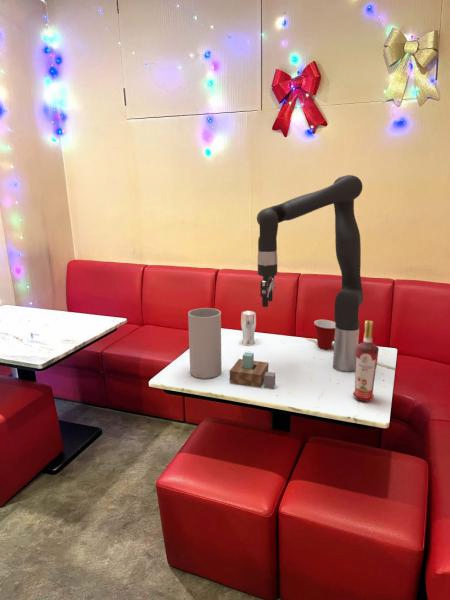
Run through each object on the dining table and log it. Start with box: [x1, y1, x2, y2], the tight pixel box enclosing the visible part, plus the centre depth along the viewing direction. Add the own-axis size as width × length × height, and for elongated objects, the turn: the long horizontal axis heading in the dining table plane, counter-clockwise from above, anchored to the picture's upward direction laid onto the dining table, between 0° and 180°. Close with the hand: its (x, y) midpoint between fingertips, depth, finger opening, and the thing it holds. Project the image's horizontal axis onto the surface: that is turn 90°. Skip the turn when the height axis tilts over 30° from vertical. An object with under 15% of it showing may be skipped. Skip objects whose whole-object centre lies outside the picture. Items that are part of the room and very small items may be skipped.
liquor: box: [352, 320, 380, 402], centre depth 145 cm, size 7×7×28 cm
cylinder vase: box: [187, 307, 222, 380], centre depth 167 cm, size 12×12×25 cm
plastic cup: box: [313, 319, 335, 351], centre depth 194 cm, size 11×11×12 cm
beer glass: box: [240, 310, 257, 346], centre depth 200 cm, size 7×7×15 cm
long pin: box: [242, 351, 255, 370], centre depth 164 cm, size 3×3×10 cm
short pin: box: [263, 371, 276, 390], centre depth 158 cm, size 3×3×5 cm
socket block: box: [229, 358, 269, 388], centre depth 164 cm, size 12×12×5 cm
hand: (267, 303), depth 166 cm, fingers open, 8 cm apart
